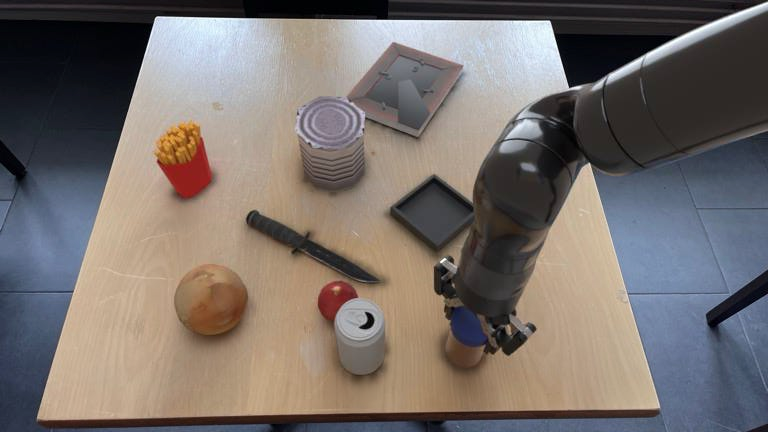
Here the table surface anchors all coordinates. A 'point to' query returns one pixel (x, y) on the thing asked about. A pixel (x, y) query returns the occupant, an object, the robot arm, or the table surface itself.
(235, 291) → the onion
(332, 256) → the knife
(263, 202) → the table surface
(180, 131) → the french fries
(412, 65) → the picture frame
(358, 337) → the beverage can
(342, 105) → the can
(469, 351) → the jar
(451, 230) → the tray
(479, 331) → the lid
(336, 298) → the onion
